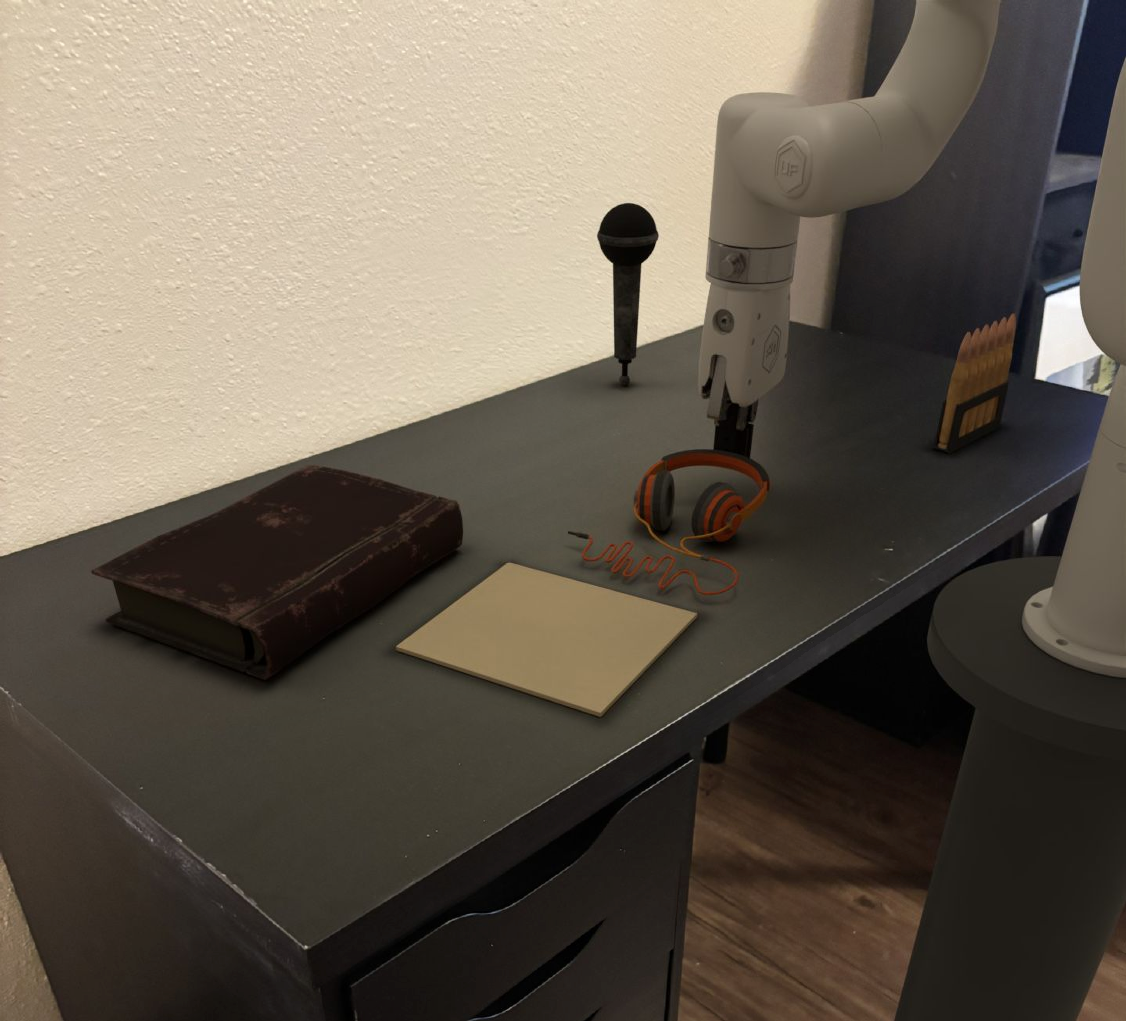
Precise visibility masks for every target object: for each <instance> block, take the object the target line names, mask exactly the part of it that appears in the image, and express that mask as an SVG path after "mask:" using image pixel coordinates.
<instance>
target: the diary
mask: <svg viewBox="0 0 1126 1021" xmlns="http://www.w3.org/2000/svg"><path fill="white" fill-rule="evenodd" d="M463 523H464V522H463V516H462V511H461V506H460V504H459V502H458V501H457V500H456V499H450V498H447V497H443V496H438V497H437V496H436V495H435V494H432V493H427V492H423V491H420V490H415V489H413V488H409V487H407V486H402V485H399V484H397V483H393V482H390V481H386V480H383V479H382V478H381V479H380V478H376V477H373V476H370V475H369V476H368V475H365V474H360V473H356V472H353V471H348V470H344V469H339V468H333V467H328V466H323V465H317V464H307V465H305V466H303V467H301V468H298V469H297V470H295V471H293V472H291V473H290V474H287V475H285V476H284V477H282V478H280V479H277V480H276V481H274V482H272V483H270V484H268V485H266V486H264V487H262V488H261V489H259V490H257V491H254V492H253V493H251V494H249V495H247V496H245V497H243V498H241V499H239V500H237V501H235V502H232V503H231V504H229V505H227V506H225V507H224V508H221V509H219V510H218V511H216V512H213V513H211V514H209V515H207V516H204V517H201V518H199V519H197V520H194V521H192V522H190V523H187V524H184V525H183V526H182V525H181V526H179V527H177V528H174V529H172V530H169V531H167V532H165V533H162V534H159V535H157V536H156V537H153V538H152V539H150V540H147V541H145V542H143V543H142V544H140V545H138V546H136V547H134V548H132V549H130V550H128V551H127V552H125V553H122V554H121V555H119V556H117V557H115V558H113V559H111V560H108V561H107V562H105V563H103V564H101V565H99V566H97V567H95V568H94V569H92V570H91V572H90V573H91V574H92V575H95V576H97V577H100V578H103V579H106V580H109V581H112V584H113V587H114V588H113V589H114V590H115V594H116V597H117V598H116V599H117V602H118V604H119V608H120V611H118V612H116V613H114V614H112V615H110V616H109V617H107V618H106V619H105V622H106V623H108V624H111V625H113V626H116V627H119V628H122V629H124V630H127V631H130V632H133V633H135V634H138V635H140V636H143V637H146V638H150V639H152V640H155V641H157V642H160V643H163V644H164V645H169V646H171V647H173V648H175V649H179V650H181V651H185V652H187V653H190V654H192V655H196V656H198V657H201V658H203V659H206V660H209V661H212V662H214V663H217V664H220V665H223V666H225V667H228V668H231V669H233V670H237V671H239V672H241V673H245V672H246V674H248V675H250V676H253V677H255V678H258V679H261V680H264V681H266V680H269V679H270V678H271V677H272V676H274V675H275V674H277V673H278V672H279V671H281V670H282V669H283V668H285V667H286V666H288V665H289V664H290V663H292V662H293V661H294V660H296V659H297V658H298V657H300V656H301V655H303V654H304V653H306V652H307V651H308V650H309V649H311V648H312V647H313V646H315V645H316V644H318V643H319V642H321V640H324V639H325V638H326V637H327V636H329V635H330V634H332V633H333V632H335V631H337V630H339V629H340V628H342V627H343V626H345V625H347V623H349V622H351V621H353V620H354V619H356V618H357V617H359V616H360V615H362V614H363V613H365V612H367V611H368V610H370V609H371V608H374V607H375V606H376V605H377V604H378V603H380V602H382V601H383V600H384V599H385V598H386V597H388V596H389V595H390V594H392V593H393V592H394V591H396V590H397V589H399V588H400V587H401V586H403V585H404V584H405V583H407V582H408V581H409V580H411V579H412V578H413V577H414V576H416V575H418V574H419V573H421V572H422V571H424V570H426V569H427V568H429V567H430V566H432V565H433V564H435V563H438V561H440V560H442V559H443V558H445V557H447V556H448V555H450V554H452V553H453V552H454V551H457V549H460V547H461V546H462V545H463V538H464V524H463Z"/></svg>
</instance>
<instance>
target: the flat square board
mask: <svg viewBox="0 0 1126 1021" xmlns="http://www.w3.org/2000/svg"><path fill="white" fill-rule="evenodd" d="M697 618H698V613H697V612H694V611H691V610H686V609H682V608H679V607H676V606H671V605H668V604H665V603H660V602H657V601H653V600H649V599H646V598H642V597H638V596H634V595H631V594H627V593H624V592H620V591H616V590H613V589H609V588H605V587H601V586H597V585H595V584H591V583H587V582H583V581H580V580H575V579H572V578H569V577H564V576H560V575H557V574H554V573H550V572H546V571H542V570H538V569H536V568H531V567H528V566H524V565H520V564H516V563H513V562H506V563H505V564H504V565H502V566H501V567H500V568H499V569H497V570H496V571H495V572H493V573H492V574H490V575H489V576H488V577H486V578H485V579H484V580H483V581H481V582H480V583H478V584H477V585H476V586H474V587H473V588H472V589H470V590H469V591H468V592H466V593H465V594H464V595H463V596H461V597H459V599H458V600H456V601H454V602H453V603H452V604H451V605H449V606H448V607H447V608H445V609H444V610H443V611H440V613H439V614H437V615H435V616H434V617H433V618H431V620H429V621H428V622H427V623H425V624H424V625H422V626H421V627H419V629H416V631H414V632H413V633H412V634H410V635H409V636H408V637H406V638H405V639H403V641H401V642H399V643H398V644H397V645H396V646H395V649H396V651H397V652H400V653H403V654H406V655H409V656H412V657H415V658H418V659H422V660H424V661H427V662H429V663H430V662H431V663H433V664H437V665H439V666H443V667H445V668H449V669H452V670H455V671H457V672H461V673H465V674H467V675H470V676H473V677H476V678H479V679H482V680H486V681H489V682H492V683H495V684H498V685H500V686H504V687H507V688H510V689H513V690H516V691H519V692H522V693H525V694H528V695H531V696H534V697H537V698H541V699H544V700H547V701H550V702H553V703H556V704H559V705H562V706H565V707H567V708H571V709H574V710H576V711H577V710H578V711H581V712H583V713H585V714H586V713H587V714H589V715H593V716H596V717H599V718H601V717H602V716H603V715H605V713H606V712H607V711H609V709H610V708H611V707H612V706H613V705H614V704H615V703H616V702H617V701H618V700H619V699H620V698H621V697H622V696H623V694H625V693H626V692H627V691H628V689H629V688H630V687H631V686H632V685H633V684H634V683H635V682H636V681H637V680H639V678H640V677H641V676H642V675H643V674H644V673H645V672H646V671H647V670H648V669H649V668H650V667H651V666H652V665H653V664H654V663H655V662H656V660H658V659H659V658H660V657H661V655H662V654H663V653H664V652H666V651H667V649H668V648H669V647H670V646H671V645H672V644H673V643H674V642H675V641H676V640H677V639H678V638H679V637H680V636H681V635H682V634H683V632H684V631H686V629H687V628H688V627H690V626H691V625H692V623H693V622H694V621H695V620H697Z"/></svg>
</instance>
